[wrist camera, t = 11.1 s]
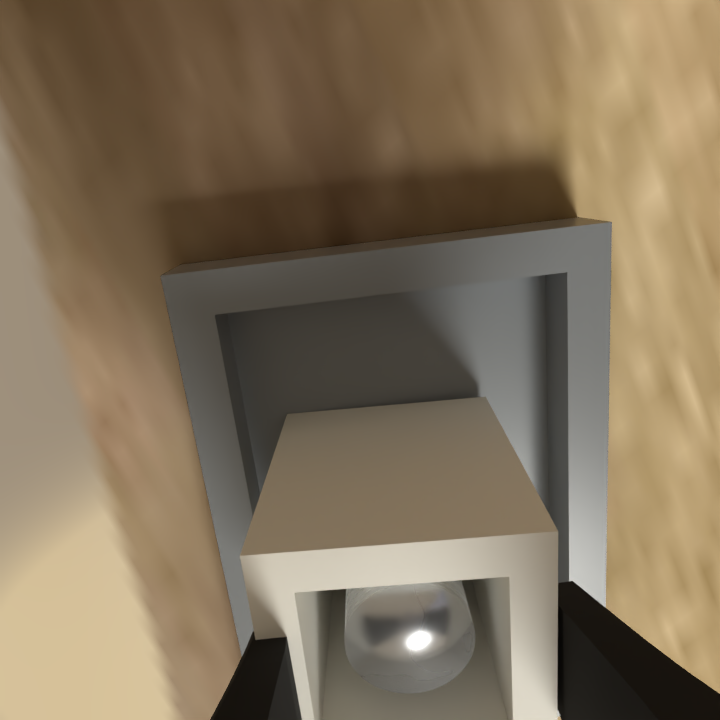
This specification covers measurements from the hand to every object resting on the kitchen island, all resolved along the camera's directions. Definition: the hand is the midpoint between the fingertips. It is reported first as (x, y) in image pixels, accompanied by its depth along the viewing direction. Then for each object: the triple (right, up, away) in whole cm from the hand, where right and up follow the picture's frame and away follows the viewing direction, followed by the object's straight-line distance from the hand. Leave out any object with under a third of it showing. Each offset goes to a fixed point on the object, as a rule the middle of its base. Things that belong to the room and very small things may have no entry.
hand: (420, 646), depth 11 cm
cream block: (0, +2, +5) cm, 5 cm away
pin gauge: (0, +2, +4) cm, 5 cm away
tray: (0, +2, +5) cm, 6 cm away
